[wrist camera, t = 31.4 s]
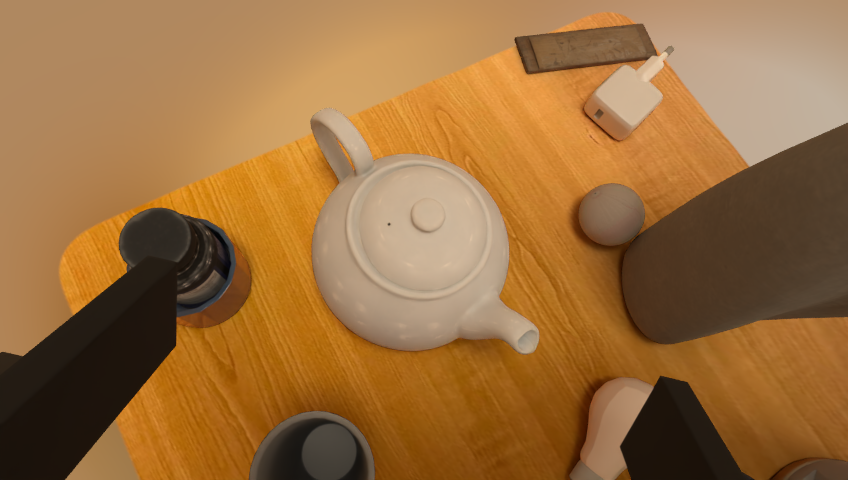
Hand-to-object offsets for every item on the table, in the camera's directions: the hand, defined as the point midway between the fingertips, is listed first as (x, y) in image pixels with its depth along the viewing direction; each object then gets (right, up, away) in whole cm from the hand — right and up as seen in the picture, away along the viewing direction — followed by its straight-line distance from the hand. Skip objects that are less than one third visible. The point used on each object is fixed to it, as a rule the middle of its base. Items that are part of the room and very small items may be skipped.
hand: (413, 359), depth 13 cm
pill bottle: (-19, 0, +31) cm, 36 cm away
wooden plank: (+20, +23, +43) cm, 53 cm away
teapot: (-2, +1, +34) cm, 34 cm away
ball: (+18, +7, +37) cm, 42 cm away
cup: (-8, -15, +28) cm, 32 cm away
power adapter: (+26, +18, +40) cm, 51 cm away
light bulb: (+16, -14, +31) cm, 38 cm away
